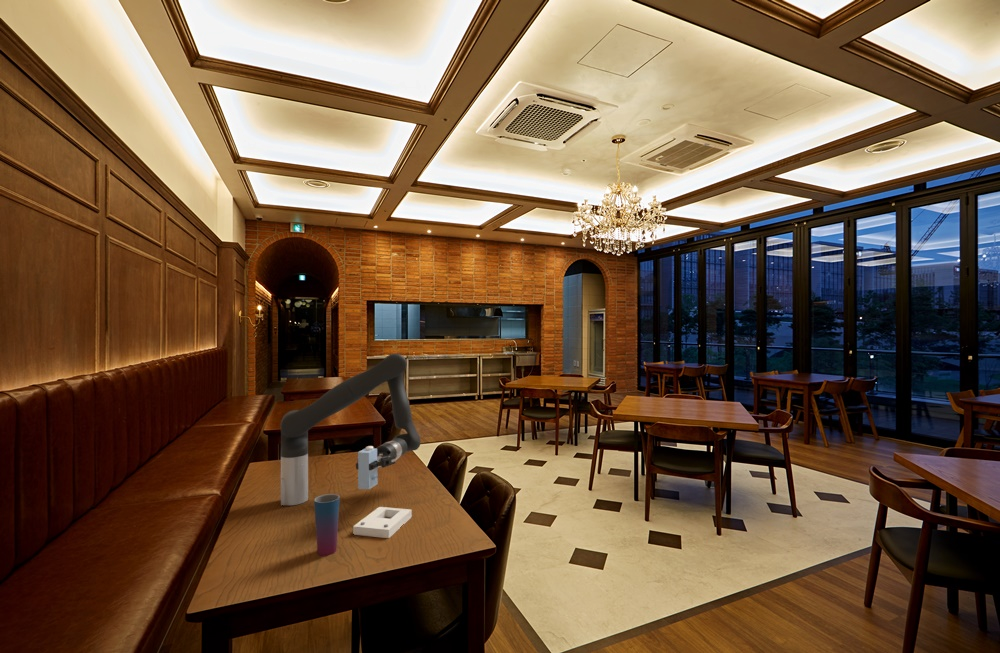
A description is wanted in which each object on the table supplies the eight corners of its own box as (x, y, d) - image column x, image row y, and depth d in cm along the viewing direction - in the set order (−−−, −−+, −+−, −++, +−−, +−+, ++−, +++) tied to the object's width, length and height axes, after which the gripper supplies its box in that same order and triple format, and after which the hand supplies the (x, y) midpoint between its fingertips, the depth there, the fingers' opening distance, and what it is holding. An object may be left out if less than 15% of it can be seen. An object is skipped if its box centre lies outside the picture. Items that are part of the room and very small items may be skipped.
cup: (324, 559, 122) (324, 504, 123) (308, 553, 126) (308, 499, 126) (344, 549, 128) (344, 496, 128) (329, 543, 132) (329, 492, 132)
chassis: (388, 538, 135) (388, 528, 135) (353, 534, 137) (353, 524, 138) (411, 517, 150) (411, 508, 150) (379, 514, 153) (379, 505, 153)
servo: (372, 489, 147) (372, 450, 147) (354, 488, 148) (354, 449, 148) (381, 484, 152) (380, 446, 152) (363, 482, 153) (363, 445, 154)
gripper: (370, 442, 166) (344, 454, 149) (405, 443, 162) (383, 456, 146) (370, 462, 166) (344, 477, 149) (406, 464, 162) (383, 479, 146)
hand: (363, 466), depth 147 cm, fingers closed on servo, 4 cm apart
